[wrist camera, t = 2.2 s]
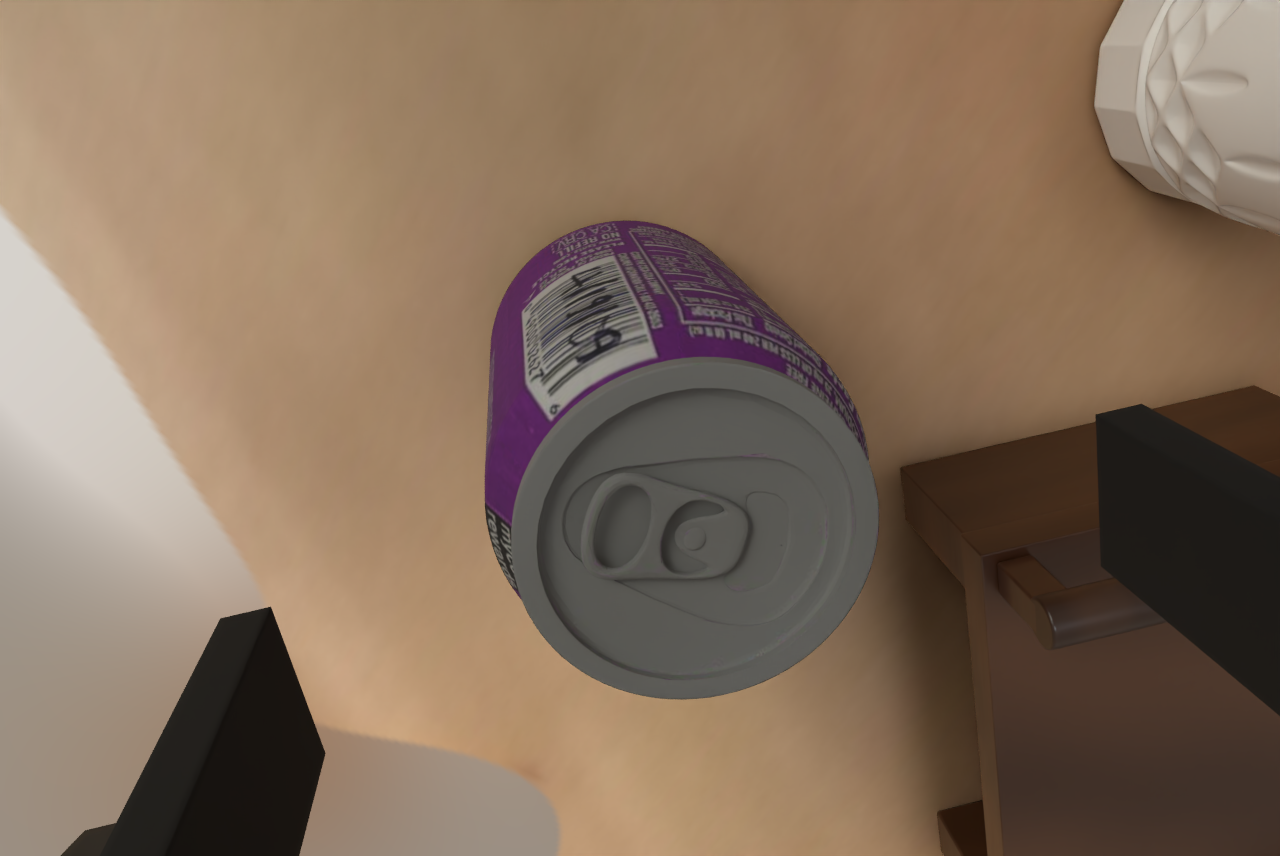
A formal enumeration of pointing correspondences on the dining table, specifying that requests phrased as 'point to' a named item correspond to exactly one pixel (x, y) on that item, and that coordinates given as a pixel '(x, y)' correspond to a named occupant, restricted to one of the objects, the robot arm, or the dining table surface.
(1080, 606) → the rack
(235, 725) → the robot arm
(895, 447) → the dining table surface
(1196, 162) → the white cup
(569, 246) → the beverage can
